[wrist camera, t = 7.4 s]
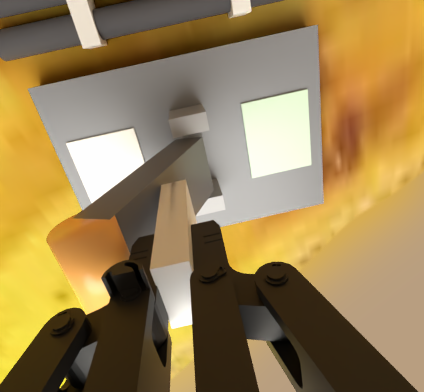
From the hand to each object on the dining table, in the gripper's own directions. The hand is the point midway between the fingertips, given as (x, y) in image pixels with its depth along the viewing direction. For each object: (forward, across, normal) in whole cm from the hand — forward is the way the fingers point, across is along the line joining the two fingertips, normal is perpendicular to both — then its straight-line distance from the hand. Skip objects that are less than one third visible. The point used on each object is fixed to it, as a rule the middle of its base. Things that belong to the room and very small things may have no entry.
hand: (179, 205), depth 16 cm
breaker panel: (+10, +1, 0) cm, 10 cm away
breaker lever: (+6, +1, 0) cm, 7 cm away
